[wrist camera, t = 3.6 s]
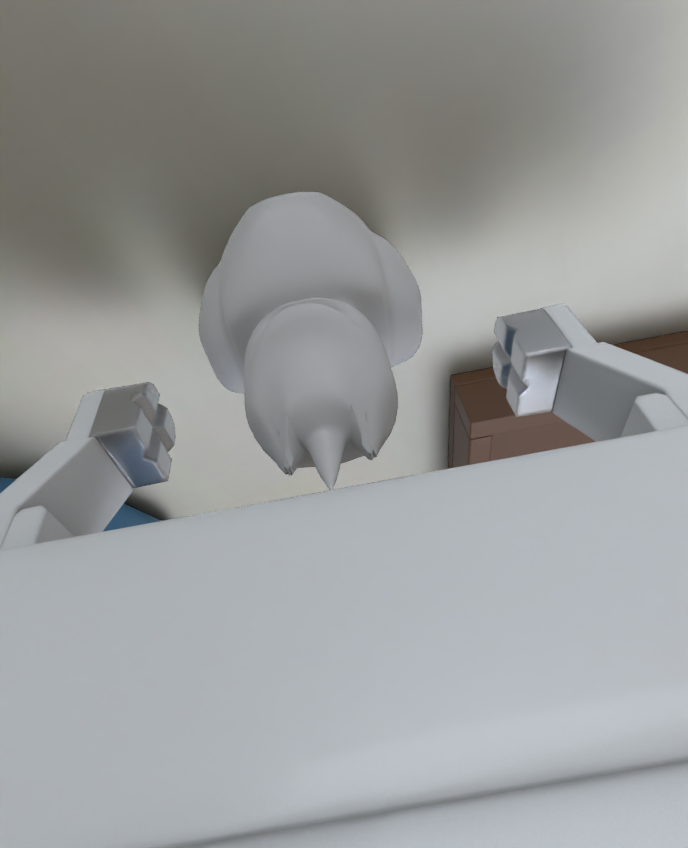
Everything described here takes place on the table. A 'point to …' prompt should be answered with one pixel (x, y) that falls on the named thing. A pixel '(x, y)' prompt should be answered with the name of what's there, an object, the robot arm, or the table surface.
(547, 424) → the serving tray
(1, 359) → the table surface
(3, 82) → the table surface
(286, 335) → the rubber duck
